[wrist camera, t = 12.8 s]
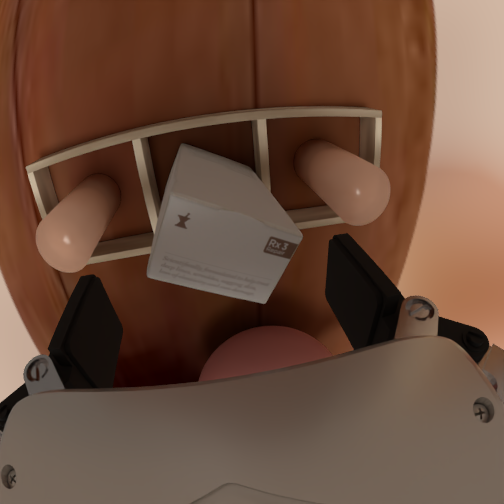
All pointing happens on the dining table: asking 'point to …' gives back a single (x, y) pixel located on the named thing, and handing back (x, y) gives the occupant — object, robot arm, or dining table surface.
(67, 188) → the dining table surface
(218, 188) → the skincare box
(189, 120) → the grey divided tray
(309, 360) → the balloon
